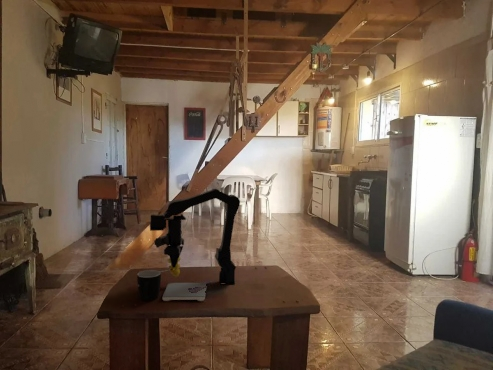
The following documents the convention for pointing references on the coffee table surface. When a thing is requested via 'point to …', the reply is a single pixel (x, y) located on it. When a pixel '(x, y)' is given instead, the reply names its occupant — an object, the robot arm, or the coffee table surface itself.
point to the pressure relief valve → (174, 268)
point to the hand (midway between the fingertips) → (174, 265)
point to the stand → (184, 292)
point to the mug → (149, 284)
